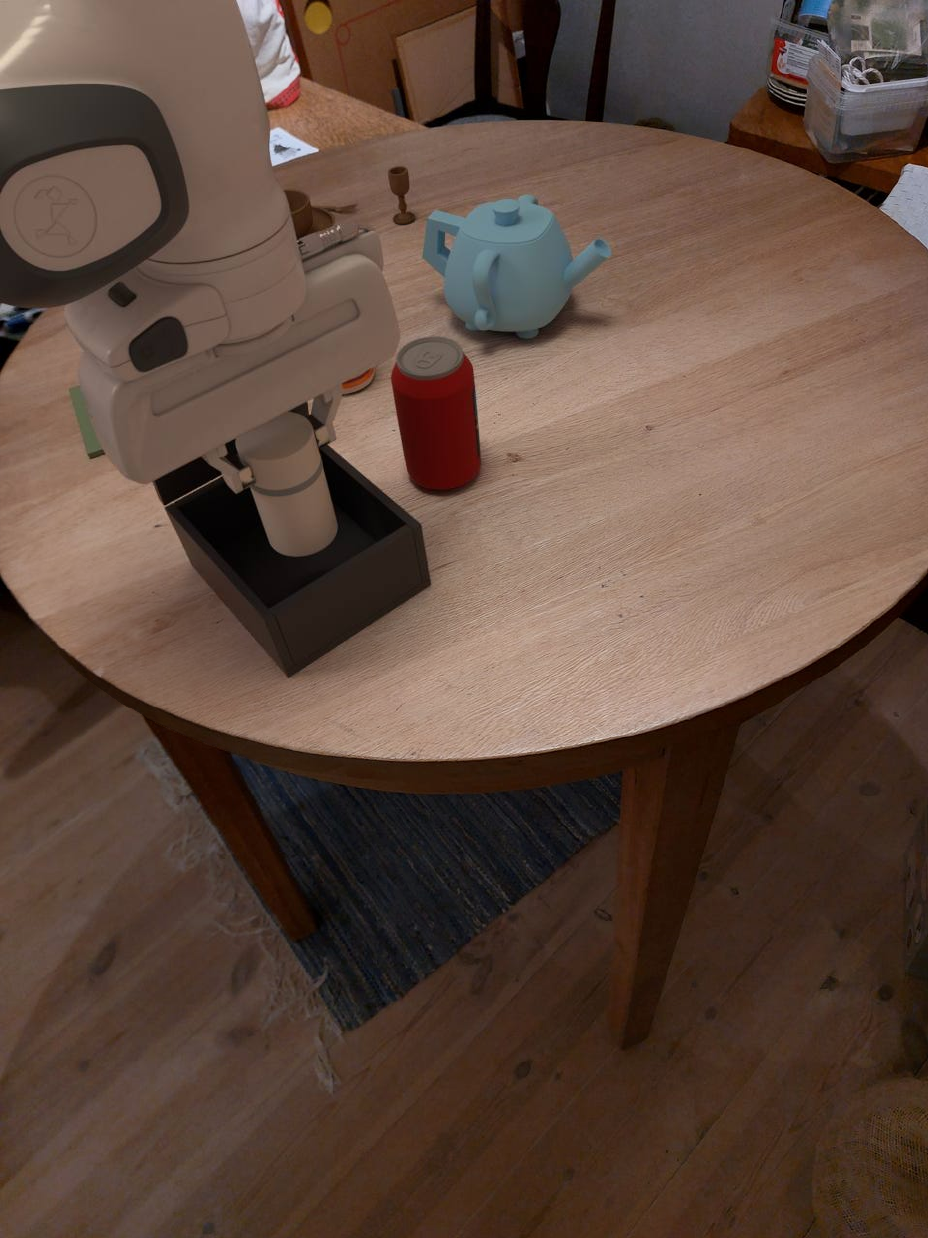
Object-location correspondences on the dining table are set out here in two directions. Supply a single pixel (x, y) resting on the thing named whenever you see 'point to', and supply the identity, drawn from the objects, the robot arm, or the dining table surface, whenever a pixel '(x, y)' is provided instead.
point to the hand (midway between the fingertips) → (281, 462)
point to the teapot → (507, 264)
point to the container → (289, 485)
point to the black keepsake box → (305, 564)
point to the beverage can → (437, 412)
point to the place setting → (320, 219)
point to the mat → (85, 424)
